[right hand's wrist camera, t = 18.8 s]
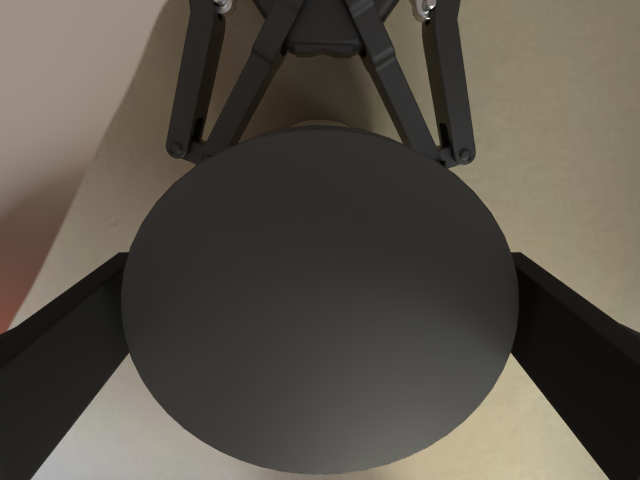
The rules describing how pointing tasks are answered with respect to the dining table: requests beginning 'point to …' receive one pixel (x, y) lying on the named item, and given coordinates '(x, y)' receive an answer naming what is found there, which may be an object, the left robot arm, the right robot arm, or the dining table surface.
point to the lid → (319, 300)
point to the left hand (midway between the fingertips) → (318, 268)
